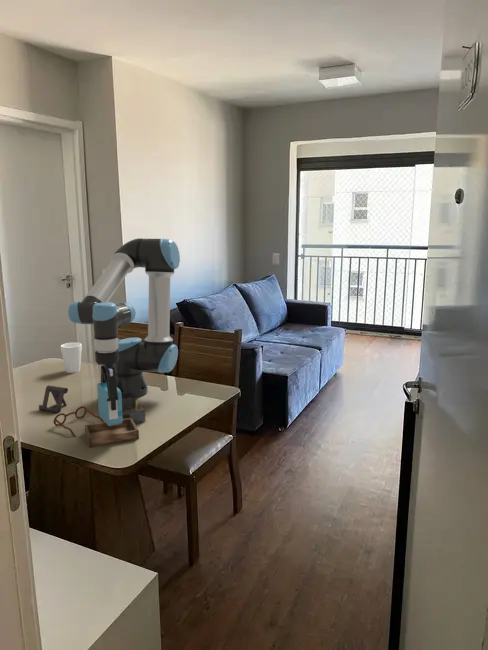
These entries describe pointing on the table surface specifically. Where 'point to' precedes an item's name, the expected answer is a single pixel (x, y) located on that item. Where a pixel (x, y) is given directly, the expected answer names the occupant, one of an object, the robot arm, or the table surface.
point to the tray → (111, 433)
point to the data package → (104, 405)
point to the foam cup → (72, 356)
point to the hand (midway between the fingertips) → (110, 411)
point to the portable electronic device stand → (58, 396)
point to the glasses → (76, 417)
